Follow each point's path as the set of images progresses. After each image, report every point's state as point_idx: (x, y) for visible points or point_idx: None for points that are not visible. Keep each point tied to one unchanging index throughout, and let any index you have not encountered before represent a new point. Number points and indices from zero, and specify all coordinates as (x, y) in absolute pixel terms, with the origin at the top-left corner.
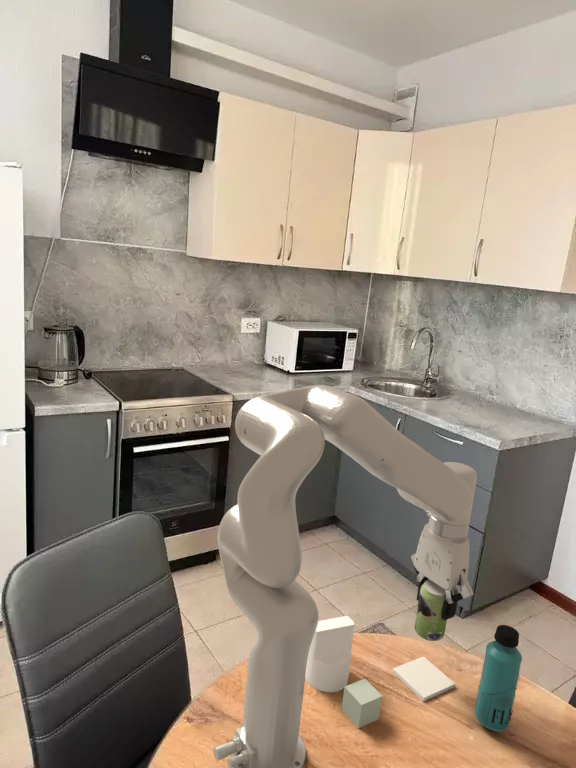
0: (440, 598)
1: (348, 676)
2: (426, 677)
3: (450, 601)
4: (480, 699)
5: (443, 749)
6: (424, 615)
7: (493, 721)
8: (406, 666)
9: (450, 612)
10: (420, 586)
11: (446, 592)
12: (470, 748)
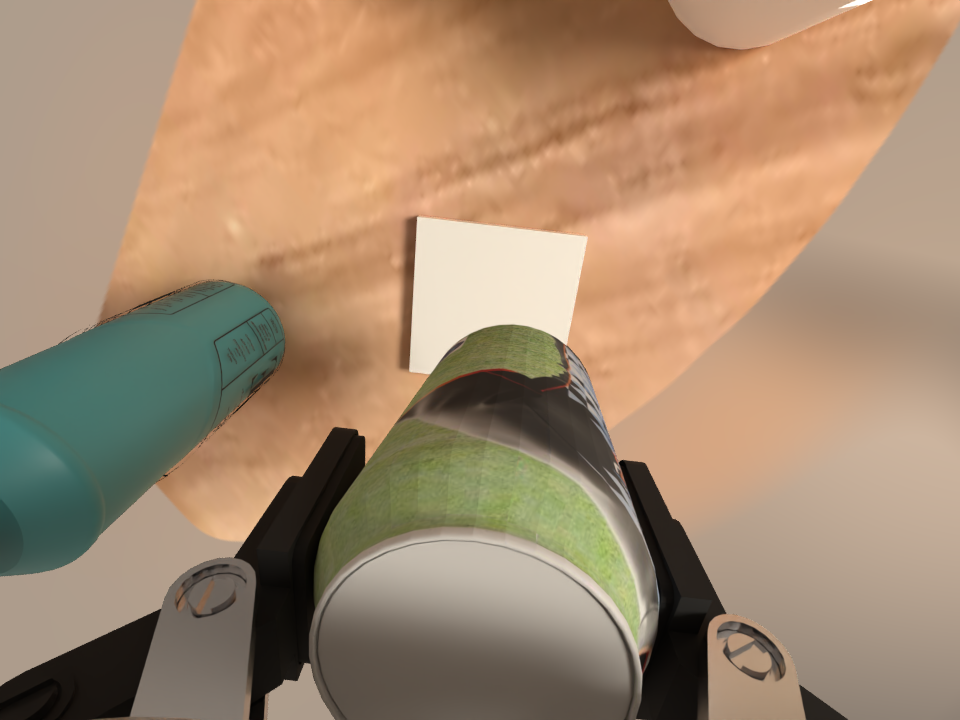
0: (335, 553)
1: (681, 6)
2: (481, 311)
3: (199, 585)
4: (202, 309)
5: (226, 86)
6: (488, 371)
7: (168, 295)
8: (561, 294)
9: (272, 501)
10: (669, 571)
11: (233, 674)
12: (197, 182)
